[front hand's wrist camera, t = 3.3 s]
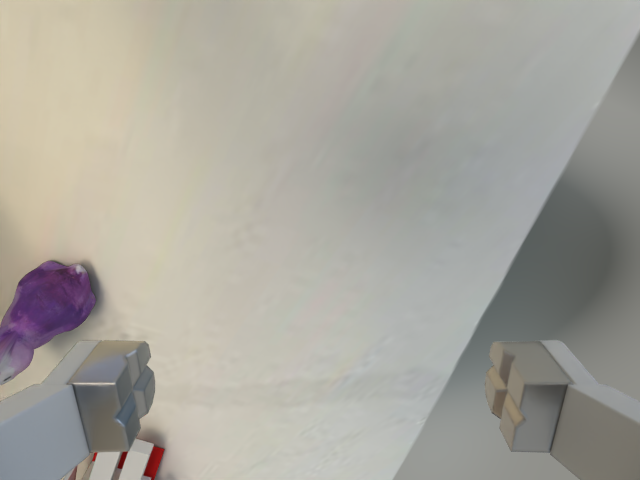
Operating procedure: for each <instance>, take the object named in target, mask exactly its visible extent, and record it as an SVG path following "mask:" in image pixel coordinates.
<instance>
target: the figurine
mask: <svg viewBox="0 0 640 480" xmlns="http://www.w3.org/2000/svg"><path fill="white" fill-rule="evenodd" d="M95 302H96V299H95V296H94V294H93V293H92V290H91V286H90V281H89V277H88V273H87V271H86V270H85V269H84V267H83V266H81V265H80V264H73V265H71V266H68V267H67V266H64V265H60V264H58V263H56V262H53V261H47V262H45V263H43V264H41V265H40V266H39V267H38V268H36V269H34V270H33V271H31V272H29V273H28V274H26V275H25V276H24V277H23V278H22V279H21V280H20V282H19V283H18V286H17V289H16V293H15V297H14V299H13V302H12V304H11V306H10V307H9V309H8V310H7V312H6V314H5V316H4V318H3V320H2V323H1V326H0V385H2V384H4V383H6V382H8V381H10V380H12V379H13V378H14V377H15V376H16V375H17V374H19V373H20V372H22V371H23V370H25V369H26V368H27V367H28V366H29V364H30V363H31V361H32V358H33V354H34V349H36V348H38V347H40V346H42V345H44V344H46V343H47V342H49V341H50V340H51V339H52V338H53V337H54V336H55V335H58V334H60V333H63V332H66V331H71V330H73V329H75V328H76V327H78V326H79V325H80V324H82V323H83V322H84V321H85V320H86V318H87V317H88V315H89V314H90V312H91V310H92V308H93V307H94V305H95Z"/></svg>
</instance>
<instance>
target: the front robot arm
mask: <svg viewBox="0 0 640 480" xmlns="http://www.w3.org/2000/svg"><path fill="white" fill-rule="evenodd" d="M489 357H490V359H491V361H492V363H493V366H492V367H491V368H490V369H489V370H488V371H487V372H486V378H485V393H486V399H487V402H488V405H489V408H490V410H491V412H492V413H493V414H494V415H495V416H497V417H498V418H500V419H501V421H500V427H499V428H500V430H501V432H502V434H503V436H504V438H505V441H506V443H507V445H508V447H509V449H510V450H511V452H547V453H550V455H551V456H553V457H554V458H555V459H556V460H557V461H559V462H560V463H561V464H562V465H563V466H565V467H566V468H567V469H568V470H569V471H570V472H572V473H573V474H574V475H575V476H576V477H577V478H579V479H580V480H640V401H638V400H636V399H634V398H632V397H630V396H628V395H626V394H624V393H622V392H620V391H618V390H616V389H614V388H612V387H610V386H608V385H599V383H598V382H597V381H596V380H595V379H594V378H593V377H592V375H591V374H590V373H589V372H588V371H587V370H586V368H585V367H584V366H583V365H582V364H581V363H580V362H579V360H578V359H577V358H576V357H575V356H574V355H573V354H572V352H571V351H570V350H569V349H568V348H567V347H566V345H565V344H564V343H563V342H561V341H559V340H542V341H513V342H493V344H492V346H491V348H490V354H489ZM150 358H151V354H150V349H149V345H148V344H147V343H146V342H145V341H110V340H104V341H102V340H83V341H79V342H77V343H76V344H75V345H74V347H73V348H72V349H71V350H70V351H69V352H68V353H67V355H66V356H65V357H64V358H63V359H62V360H61V362H60V363H59V364H58V365H57V366H56V367H55V368H54V370H53V371H52V372H51V373H50V374H49V375H48V377H47V378H46V379H45V380H44V381H43V382H42V383H41V385H32V386H30V387H28V388H26V389H24V390H22V391H20V392H18V393H16V394H14V395H12V396H10V397H8V398H6V399H4V400H2V401H0V480H60V479H61V478H63V477H64V476H65V475H66V474H67V473H69V472H70V471H71V470H72V469H73V468H75V467H76V466H77V465H78V464H79V463H80V462H82V461H83V460H84V459H85V458H86V457H88V456H89V455H90V453H93V452H128V451H130V449H131V447H132V445H133V443H134V441H135V439H136V437H137V434H138V432H139V430H140V428H141V427H140V421H139V419H140V418H142V417H143V416H145V415H146V414H147V413H148V412H149V410H150V408H151V405H152V403H153V398H154V393H155V377H154V372H153V371H152V370H151V369H150V368H149V367H148V366H147V363H148V361H149V359H150Z"/></svg>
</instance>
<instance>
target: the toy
mask: <svg viewBox="0 0 640 480" xmlns="http://www.w3.org/2000/svg"><path fill="white" fill-rule="evenodd" d="M163 452H164V449H162V448H158V447H155V446H154V444H153V443H149V442H146V441H142V440H139V439H135V441H134V443H133V445H132V447H131V449H130V451H128V452H95V453H94V457H93V460H92V463H91V464H90V466H89V468H88V469H87V471H86V473H85V474H84V476H83V477H82V479H81V480H154V478H155V475H156V473H157V470H158V467H159V464H160V461H161V458H162V455H163ZM76 472H77V466H76V467H75V468H73V469H72V470H71V471H70V472H69V473H67V475H66V476H65V478H64V480H75V479H76Z"/></svg>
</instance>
